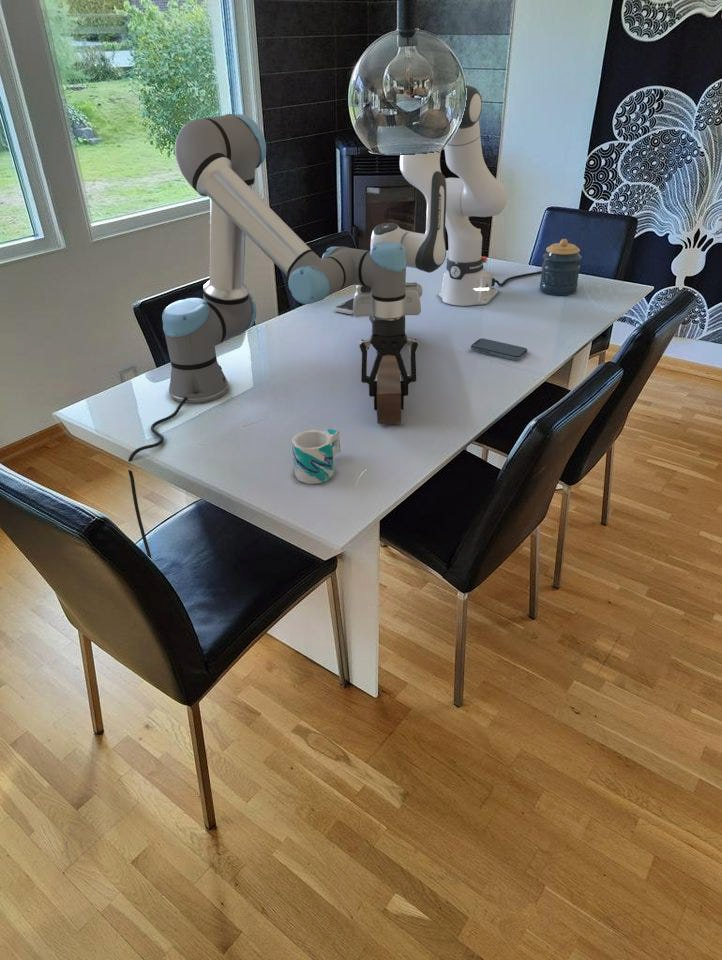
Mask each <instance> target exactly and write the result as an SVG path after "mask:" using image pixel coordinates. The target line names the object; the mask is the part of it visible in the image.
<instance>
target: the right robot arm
mask: <svg viewBox="0 0 722 960" xmlns="http://www.w3.org/2000/svg"><path fill="white" fill-rule="evenodd" d="M465 85H466V88H467V100H466V107H465V111H464V115H463V118H462V122H461V124H460V126H459V128H458V130H457V132H456V134H455V135H454V137H453V138H452V140H451V141H450V143H449V144H448V145H447V146H446V147H445V148H444V147H443V149H444V157H445V158H444V159H445V163H446V166H447V168H448V169H449V171H451V173H453V174H454V175H456V176H457V177H447V178H446V176H445V175H444V174H443V173H442V170H441V153H442V149H441V150H440V151H438V152H434V153H427V154H415V155H400V154H399V170H400V173H401V174H402V176H403V178H404V180H406V181H407V182H408V183H409V184H410V185H411V186H413V187H414V188H416V189H417V190H418V191H419V192H421V193H422V195H423V196H424V199H425V201H426V214H425V215H426V216H425V233H420V232H415V231H410V230H406V229H403V228H401V227H400V226H399V225H398V224H397V223H395V222H385V223H380V224H377V225H376V226H374V228H373V229H372V232H371V236H370V246H369V247H370V250H369V251H371V247H372V246H373V245H374V244H375V243H379V242H397V243H400V244H402V245H403V246H404V247H405V252H406V265H407V267H406V268H411V269H412V268H413V269H416V270H417V269H418V270H419V271H422V272H426V273H428V274H429V273H433V272H435V271H437V270H438V269H439V268H440V267H441V266H442V265H443V264H444V263H445V261H446V263H445V265H446V267H445V268H446V271H445V272H444V273H443V277H442V286H441V291H440V292H439V293H438V297H440V298H441V301H442V302H444V303H445V304H448V305H452V306H456V307H457V306H458V307H459V306H460V307H469V306H477V305H482V306H483V305H488V304H489V303H490V302H491V301H492V300H493V298H495V296H497V294H499V289H497V288H495V286H496V284H497V286H498V287H504V285H505V284H507V283H508V281H511V280H515V279H519V278H524V277H529V276H536V275H541V273H542V270H539V271H534V272H527V273H523V274H518V275H514V276H510V277H507V278H506V279H504V280H503V282H500V280H497V279H496V278H494V277H492V276H491V274H489V273H488V271H486V270H485V269H484V264H486V263H487V261H488V257H487V256H482V251H483V249H482V248H483V235H482V233H480V231H479V230H478V229H479V228H477V227H476V226H474V225H473V224H472V223H471V221H470V220H469V219H470V218H468V216H472V217H479V218H487V217H496V216H499V215H500V214H501V213H502V212H503V211H504V209H505V207H506V205H507V201H508V193H507V189H506V187H505V185H504V184H503V183H502V182H501V181H499V180H498V179H497V178H496V177H495V176H494V175H493V174H492V173H491V171H490V169H489V168H488V166H487V164H486V162H485V159H484V155H483V148H482V147H483V146H482V137H481V127H480V117H481V114H482V109H483V99H482V96H481V93H480V92H479V90H478V89H477V88H476V87H474V86H472V85H468V84H465ZM446 232H447V243H446ZM447 244H448V245H447ZM447 247H448V249H447ZM447 250H448V252H447ZM355 289H356V290H355V292H354V295H353V298H354V301H353V314H352V315H353V316H355V317H356V318H357V317H359V318H360V317H369V318H368V319H369V321H370V323H371V324H372V317H373V314H372V290H371V287H367V286H361V285H355ZM405 296H406V308H405V314H404V316H405V317H406V316H419V315H420V314H421V313H422V305H421V303H422V302H421V297H422V296H423V287H422V285H421V284H419V283H418V282H406V283H405Z"/></svg>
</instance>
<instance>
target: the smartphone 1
mask: <svg viewBox="0 0 722 960" xmlns="http://www.w3.org/2000/svg"><path fill="white" fill-rule="evenodd" d="M353 301H354V297H353V298H350V299H348V300H347V301H346V300H345V301H344V302H342V303H340V304H337V305H336V306H334V312H336V313H342V314H346V315H354V314H353Z"/></svg>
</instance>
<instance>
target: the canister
mask: <svg viewBox="0 0 722 960" xmlns="http://www.w3.org/2000/svg"><path fill="white" fill-rule="evenodd" d="M545 251H546V252H545V253H543V255H542V258H543V263H542V264H541V271H542V273H541V274H540V281H539V290H540V292H542V293H545V294H547V295H551V296H552V295H554V296H568V295H572V294H575V293H576V292H577V289H578V285H579V284H578V282H579V274H580V269H581V265H580V261H581V260H582V255H581V254H580V251H581V249H580V248H579V247H578V246H577V245H576V244H573V243H569V241H568V239H567V238H561V240H560V241H559V242H556V243H552V244H550V245H549V246H547V247H546V249H545Z"/></svg>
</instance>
